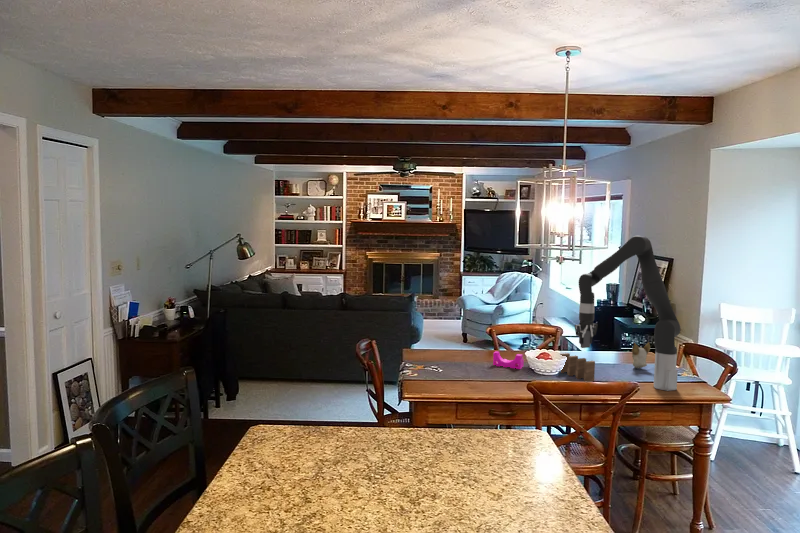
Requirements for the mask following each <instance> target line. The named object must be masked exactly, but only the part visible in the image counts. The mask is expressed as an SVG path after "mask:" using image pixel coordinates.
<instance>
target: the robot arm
mask: <svg viewBox="0 0 800 533" xmlns="http://www.w3.org/2000/svg"><path fill="white" fill-rule="evenodd" d="M634 256H636V257H637V260H638V262H639V266H640V271H641V273H640V276H641V278H640V279H641V283H642V286H643V289H644V293H645V296H646V297H647V299H648V301H649V302H650V303H651V304H652V307H654V309H655V311H656V313H657V315H658V319H659V320H658V321H657V322H656V324H655V326H654V333H653V340H654V341H653V344H654V347H655V352H654V353H655V354H654V355H655V356H654V370H653V371H654V373H653V387H654V388H655V389H657V390H662V391H666V392H671V391H677V387H678V369H677V359H678V358H677V356H678V355H677V354H678V348H677V346H676V344H675V337H677V336H679V335H680V333H681V324H680V322H679V320H678V318H677V316H676V314H675V311H674V310H673V307H672V305H671V304H672V303H671V301H670V298H669V295H668V292H667V288H666V286H665V283H664V279H663V278H662V275H661V272H660V269H659V267H658V265H657V262H656V258H655V254H654V250H653V246H652V242H651V241H650V239H649V238H648V237H646V236H643V235H634V236H632V237H630V239H628V240H627V241H626V243H624V244H623V245H622V246H621V247H620V248H619V249H618V250H617V251H615V252H614V253H613V254H612V255H610V256H608V257H607V258H606V259H604V260H603V261H601V262H600V263H599V264H597V265H596V266H594V268H593V270H591V271H590V272H589V273H583V274H582V275H580V276H579V277H578V278H579V279H578V289H579V295H580V296H579V297H580V298H579V311H578V312H579V314H578V321H579V323H578V324H574V331H575V335H576V336H577V337H579V339H578V344H579V345H581V344H582V345H583V344H584V338H583V337H584V334H585V333H586V331H590V334H591V337H590V345H591V344H592V343H593V337H594V336H596V335H597V332H598V326H599V325H598V323H594V321H595V293H594V292H593V288H592V287H594V286H596V285H597V284H599V283H600V282H601V281H602V280H603V279H604V278H606V277H608V276H609V275H610V274H612V273H613V272H614V271H616V270H617V269H618V268H619V267H620V266H621V265H622V264H623V263H624V262H626V261H627V260H628V259H630V258H632V257H634ZM581 329H582V330H584V331H581ZM581 333H582V335H581Z"/></svg>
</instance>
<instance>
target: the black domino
mask: <svg viewBox="0 0 800 533" xmlns="http://www.w3.org/2000/svg"><path fill="white" fill-rule="evenodd" d="M581 331H584V330H582V329H581ZM581 335H582V333H581ZM590 337H591V334H590V331H586V333H585V334H584V337H583V338H584V344H583V345H582V344H580V348H581V349H587V348H591V344H590Z"/></svg>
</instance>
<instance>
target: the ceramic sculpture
mask: <svg viewBox="0 0 800 533" xmlns="http://www.w3.org/2000/svg"><path fill="white" fill-rule="evenodd" d="M650 351H651V344H650V341H648V342H647V343H646V344H645V345H644V346H643V347H642V346H641V347H640V346H639V345H637V344H636V342H633V346H632V349H631V353H632V354H631V355H632V360H633V361H632V366H633V367H634V368H635V369H643V368H645V367H647V366H648V363H647V361H646V360H647V357H648V356H647V355H648V354H649V352H650Z"/></svg>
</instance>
